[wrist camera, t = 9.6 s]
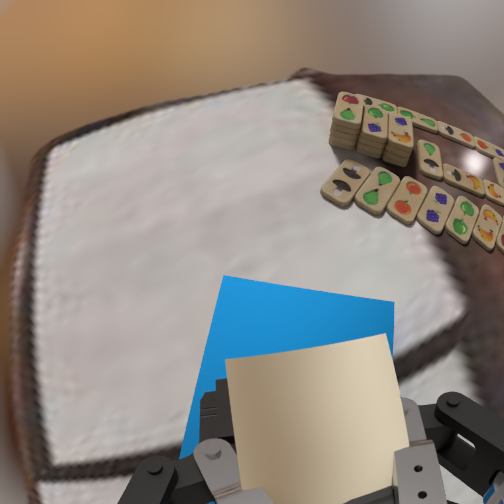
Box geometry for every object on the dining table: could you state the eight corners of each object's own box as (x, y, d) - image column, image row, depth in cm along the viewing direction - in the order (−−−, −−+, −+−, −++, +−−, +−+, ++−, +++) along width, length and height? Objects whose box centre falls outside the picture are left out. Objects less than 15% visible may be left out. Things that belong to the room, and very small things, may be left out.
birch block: (319, 382, 17) (385, 332, 9) (332, 457, 15) (414, 480, 6) (239, 394, 17) (224, 359, 8) (249, 471, 15) (247, 521, 6)
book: (162, 536, 18) (219, 273, 30) (174, 523, 22) (224, 291, 34) (364, 559, 16) (400, 299, 28) (351, 544, 20) (384, 314, 32)
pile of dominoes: (311, 201, 40) (318, 170, 35) (339, 94, 52) (344, 69, 48) (529, 272, 34) (551, 253, 29) (502, 153, 47) (514, 133, 42)
